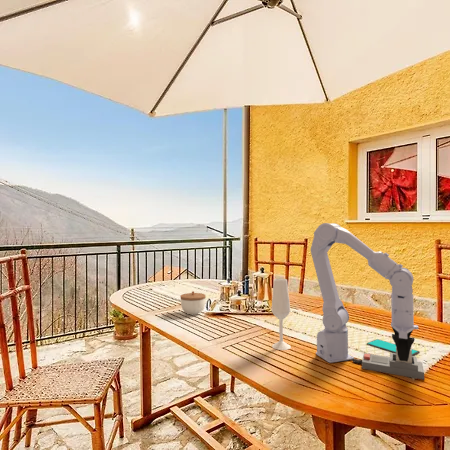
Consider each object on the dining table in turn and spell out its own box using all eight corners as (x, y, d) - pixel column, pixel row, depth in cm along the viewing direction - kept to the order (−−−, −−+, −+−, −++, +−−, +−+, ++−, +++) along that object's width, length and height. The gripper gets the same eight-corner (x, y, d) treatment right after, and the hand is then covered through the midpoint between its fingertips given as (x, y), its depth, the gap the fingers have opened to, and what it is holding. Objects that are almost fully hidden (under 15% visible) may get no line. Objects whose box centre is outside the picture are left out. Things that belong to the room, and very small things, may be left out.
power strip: (351, 366, 98) (351, 355, 98) (354, 357, 105) (354, 346, 105) (424, 379, 89) (424, 367, 89) (422, 368, 96) (421, 357, 96)
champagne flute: (270, 343, 119) (270, 278, 119) (289, 343, 119) (288, 278, 119) (273, 350, 112) (272, 281, 112) (292, 350, 112) (291, 281, 112)
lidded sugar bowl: (207, 310, 167) (207, 289, 168) (203, 317, 155) (203, 294, 155) (183, 310, 169) (183, 289, 169) (177, 316, 156) (177, 293, 156)
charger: (396, 365, 94) (395, 347, 94) (396, 360, 98) (395, 343, 98) (412, 367, 92) (411, 349, 92) (411, 362, 96) (411, 345, 96)
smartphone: (409, 356, 104) (366, 343, 117) (409, 359, 104) (366, 345, 117) (420, 351, 109) (377, 338, 121) (420, 353, 109) (377, 341, 121)
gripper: (419, 317, 87) (420, 367, 87) (416, 305, 100) (417, 349, 100) (390, 314, 90) (391, 362, 90) (390, 303, 103) (391, 345, 103)
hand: (403, 355), depth 95 cm, fingers open, 7 cm apart
